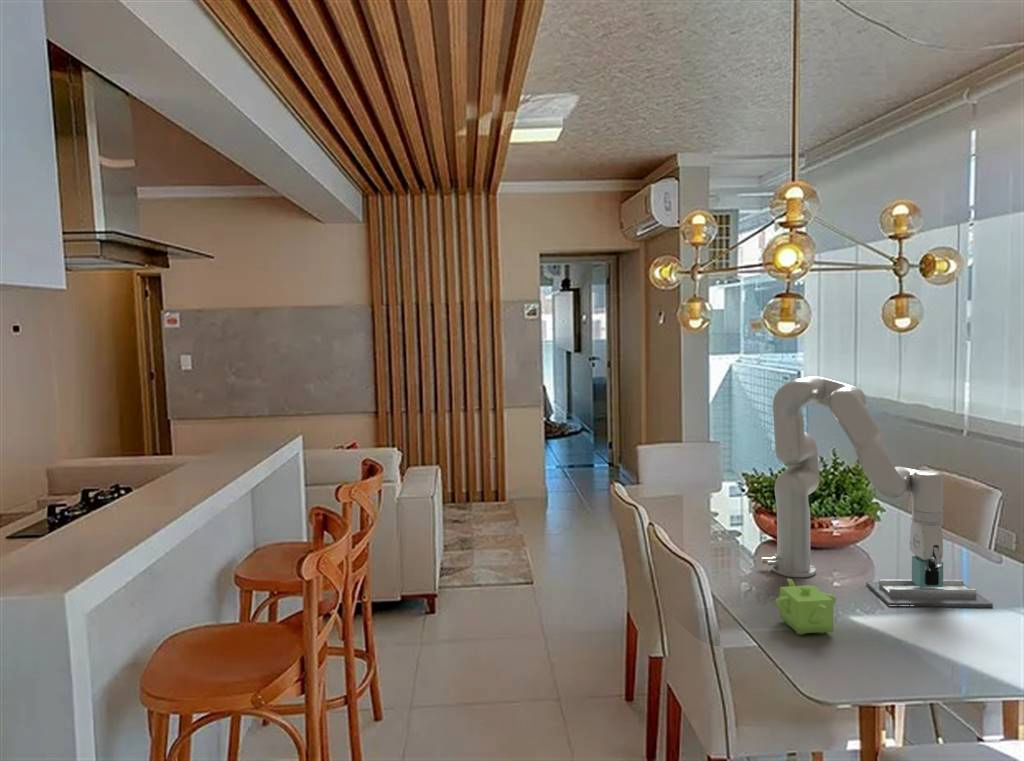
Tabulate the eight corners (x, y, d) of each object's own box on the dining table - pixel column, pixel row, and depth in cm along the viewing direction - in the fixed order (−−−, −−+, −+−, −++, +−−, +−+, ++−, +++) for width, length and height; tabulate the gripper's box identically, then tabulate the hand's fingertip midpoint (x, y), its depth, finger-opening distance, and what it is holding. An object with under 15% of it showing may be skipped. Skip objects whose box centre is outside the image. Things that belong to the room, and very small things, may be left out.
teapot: (857, 643, 172) (857, 600, 171) (793, 647, 171) (793, 603, 170) (816, 611, 192) (816, 572, 191) (759, 614, 191) (759, 575, 190)
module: (919, 587, 197) (920, 562, 197) (911, 580, 202) (911, 556, 202) (943, 587, 197) (943, 562, 196) (934, 580, 202) (934, 556, 201)
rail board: (889, 606, 193) (889, 594, 193) (866, 585, 209) (866, 574, 209) (992, 607, 190) (992, 595, 190) (961, 585, 206) (961, 574, 206)
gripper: (899, 508, 207) (899, 570, 208) (927, 524, 190) (926, 592, 191) (927, 508, 206) (927, 570, 207) (957, 524, 189) (957, 592, 190)
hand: (927, 580), depth 199 cm, fingers closed on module, 5 cm apart
